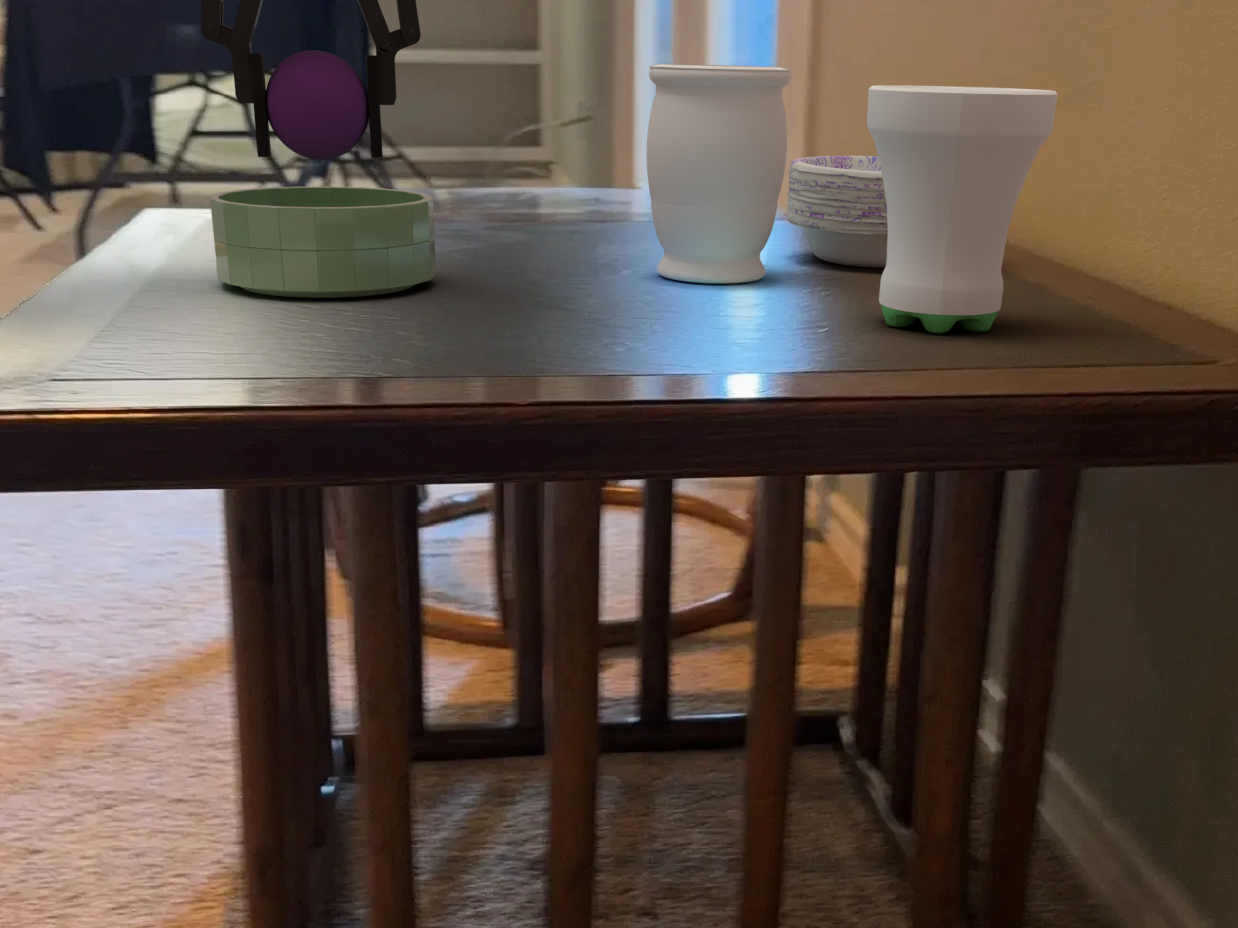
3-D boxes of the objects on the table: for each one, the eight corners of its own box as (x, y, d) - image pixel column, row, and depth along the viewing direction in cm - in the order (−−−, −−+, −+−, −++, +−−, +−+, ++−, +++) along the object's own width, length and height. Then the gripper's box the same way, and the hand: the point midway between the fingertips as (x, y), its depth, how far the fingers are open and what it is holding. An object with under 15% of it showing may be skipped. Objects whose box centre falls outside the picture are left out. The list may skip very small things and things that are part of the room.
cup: (1022, 314, 93) (1051, 88, 88) (1031, 345, 83) (1065, 92, 78) (854, 305, 95) (873, 84, 90) (843, 334, 85) (864, 86, 80)
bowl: (173, 291, 95) (163, 199, 92) (293, 263, 108) (287, 182, 106) (370, 308, 90) (364, 212, 88) (469, 276, 104) (467, 192, 101)
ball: (249, 160, 94) (239, 48, 91) (304, 154, 100) (296, 49, 97) (339, 165, 92) (332, 50, 89) (390, 158, 98) (385, 51, 95)
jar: (625, 268, 109) (629, 62, 103) (746, 265, 112) (757, 65, 106) (670, 289, 100) (677, 65, 94) (801, 285, 103) (815, 68, 97)
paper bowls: (932, 280, 107) (943, 172, 104) (754, 262, 114) (759, 161, 110) (989, 258, 119) (1000, 161, 116) (825, 244, 126) (831, 152, 123)
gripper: (120, -252, 82) (165, 159, 91) (457, -233, 85) (468, 160, 94) (138, -229, 88) (178, 151, 97) (449, -212, 92) (460, 152, 101)
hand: (320, 155), depth 96 cm, fingers closed on ball, 7 cm apart
